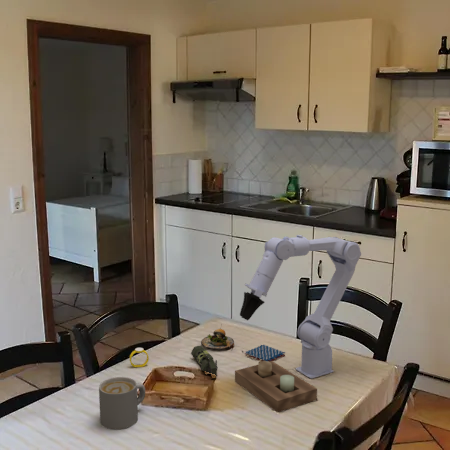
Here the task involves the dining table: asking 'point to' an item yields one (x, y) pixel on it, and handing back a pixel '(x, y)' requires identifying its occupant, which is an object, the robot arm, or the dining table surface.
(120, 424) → the coffee mug
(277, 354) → the woven mat
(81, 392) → the dining table surface
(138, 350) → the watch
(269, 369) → the maple peg
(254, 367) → the walnut block
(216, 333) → the burger
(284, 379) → the sage peg
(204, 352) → the dark green rolled bundle
